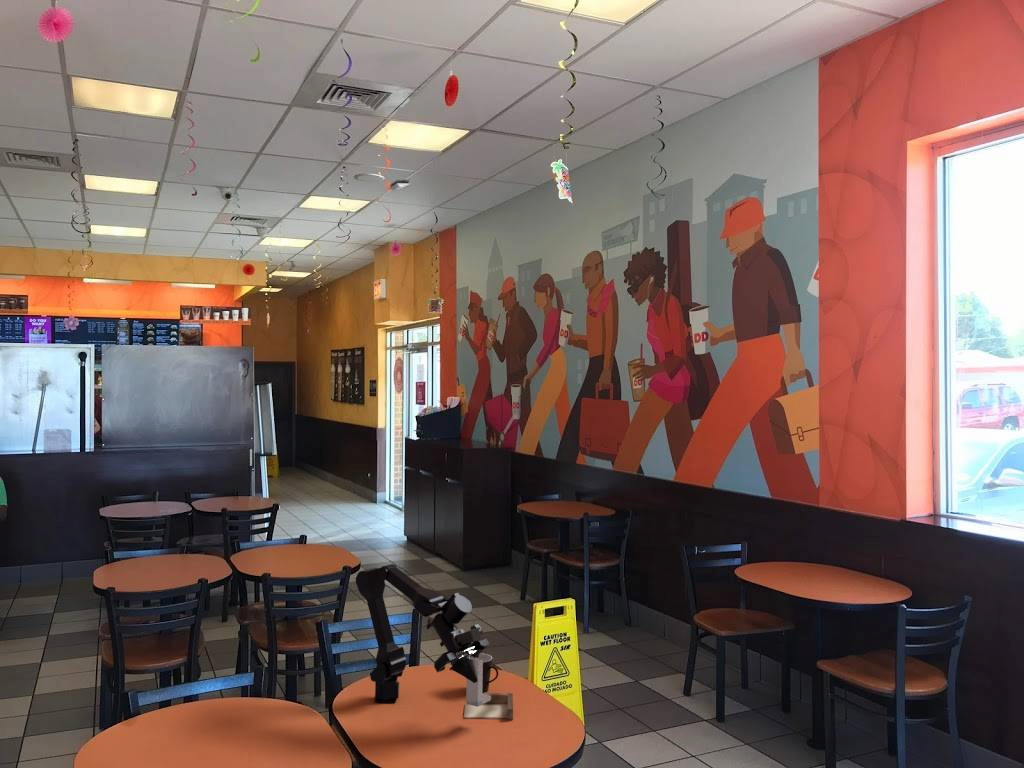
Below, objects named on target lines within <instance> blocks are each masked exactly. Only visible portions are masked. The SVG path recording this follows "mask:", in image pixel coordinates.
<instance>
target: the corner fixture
mask: <svg viewBox="0 0 1024 768" xmlns="http://www.w3.org/2000/svg"><path fill="white" fill-rule="evenodd" d="M483 694H486V695H490V696H491V700H490V701H488V702H486V703H484V704H482V705H480V706H478V707H477V706H473V705H470V704H467V703H465V705H464V713H463V719H486V720H487V719H488V720H489V719H490V720H491V719H493V720H495V719H498V720H499V718H500V720H501V718H507V719H506V720H507V721H513V720H514V694H513V693H511V692H507V693H505V692H486V693H483Z"/></svg>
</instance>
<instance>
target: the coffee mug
mask: <svg viewBox="0 0 1024 768" xmlns="http://www.w3.org/2000/svg"><path fill="white" fill-rule="evenodd" d="M478 658H480V659H483V681H482V693H485V692H486V693H488V691H489V689H490V683H492V682H494V681H495V680H497V678H498V676H499V669H498V668H497V667H496V666H494V665H493V656H492V655H490V654H487V653H483V652H481V653H480V654H479V657H478ZM492 669H493V670H494V671H495V673H496V675H495V677H494V678H493V679H491V671H492ZM490 679H491V680H490Z"/></svg>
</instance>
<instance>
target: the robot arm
mask: <svg viewBox="0 0 1024 768" xmlns="http://www.w3.org/2000/svg"><path fill="white" fill-rule="evenodd" d="M385 581H386V582H388V583H389V584H390V585H392V586H393V587H394V588H395V589H396V590H398V591H399V592H400V593H402V594H403V595H404V596H405V597H406V598H408V599H409V600H410V601H411V602H412V606H413V608H414V609H415V611H416V612H417V613H418V614H419V615H421V616H422V617H425V618H427V617H430V616H433V615H435V614H436V615H435V616H434V617H431V618H428V619H427V624H426V630H429V629H434V631H435V632H436V635H437V637H438V638H439V639H440V642H439V645H440V647H444V648H445V649H446V652H443V653H441V655H440V656H439V657H438V658H437V659H436V660H434V662H433V666H434V670H435V671H436V673H440V672H443V671H445V670H446V666H447V665H448V664H450V667H449V668H448V669H449V670H450V671H453V672H454V673H457V674H459V675H461V676H462V677H464V678H466V680H467V679H468V680H470V681H472V682H473V683H476V682H477V679H476V677H475V675H474V673H473V671H472V669H471V668H470V666H469V664H468V658H469V657H471V656H472V657H476V658H478V657H479V654H480V653H483V651H485V650H486V649H487V648H488V647H489V646H491V645H490V643H489V641H488V639H487V638H485V637H482V635H483V634H484V631H483V629H482V627H481V626H480V624H478V623H476V624H474V625H471V626H470V630H467V631H465V630H464V629H463V628H458V626H457V624H459V623H461V622H462V621H463V619H464V618H465V617H466V616H467V615H469V613H471V611H472V609H473V608H472V607H473V606H472V603H471V601H470V600H469V599H468V598H466V597H465V596H463V595H461V594H460V593H459V592H458V591H457V592H454V593H452V594H451V596H450V597H449V598H446V597H444V596H443V594H441V593H439V592H437V591H436V590H434V589H430V588H427V587H423V586H421V585H420V584H419V583H418V582H417V581H415V580H414V579H412V578H411V577H410V576H409V575H408V574H406V573H405V572H403V571H402V570H401V569H400V568H398V565H396V564H395V563H390V564H386V565H382V566H381V567H372V568H368V569H365V570H360V571H359V572H358V573H357V575H356V576H355V584H356V587H357V590H358V592H359V594H360V596H362V597H363V598H364V599H365V600H366V602H367V608H368V611H369V615H370V619H371V623H372V627H373V631H374V635H375V638H376V643H377V647H378V648H377V653H376V657H375V662H376V667H375V668H374V669H373V670H372V671H371V672H370V673H369V677H370V681H371V682H374V683H375V687H374V688H375V689H374V700H373V702H378V703H377V704H380V703H379V702H388V704H394V703H397V700H398V699H399V697H400V681H399V680H398V678H400V677H402V676H403V672H404V671H405V670H406V669H405V668H406V667H407V657H406V655H405V648H404V647H403V646H400V647H399V646H398V645H397V644H396V642H395V639H394V635H393V630H392V627H391V624H390V619H389V614H388V612H387V607H386V604H385V600H384V599H385V598H384V593H385V588H386V582H385Z"/></svg>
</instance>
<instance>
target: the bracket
mask: <svg viewBox="0 0 1024 768" xmlns="http://www.w3.org/2000/svg"><path fill="white" fill-rule="evenodd" d="M468 664H469V666H470V668H471V669H472V671H473V673H474V675H475V677H476V679H477V682H476V683H473V682H472V681H470V680H468V679H467V678H466V690H465V691H466V692H465V693H466V695H465V697H466V699H465V704H470V705H473V706H477V707H478V706H480V705H482V704H484V703H486V702H488V701H490V700H491V696H490V695H486V694H483V693H482V681H483V659H480V658H476V657H472V656H471V657H469V658H468Z"/></svg>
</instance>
